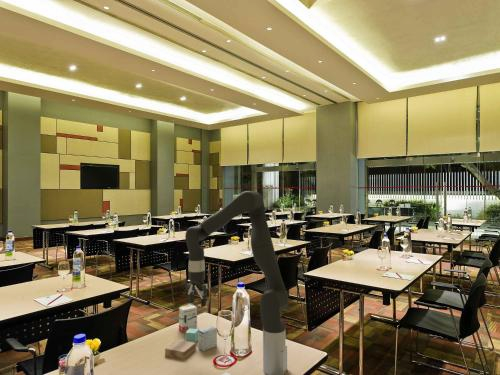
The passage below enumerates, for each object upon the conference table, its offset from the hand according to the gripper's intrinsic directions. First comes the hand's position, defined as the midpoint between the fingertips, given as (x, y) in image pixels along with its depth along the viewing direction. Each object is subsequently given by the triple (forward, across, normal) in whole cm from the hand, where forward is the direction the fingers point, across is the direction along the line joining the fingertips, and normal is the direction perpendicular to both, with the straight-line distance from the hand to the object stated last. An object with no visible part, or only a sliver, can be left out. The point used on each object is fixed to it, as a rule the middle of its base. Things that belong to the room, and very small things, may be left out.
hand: (197, 304), depth 166 cm
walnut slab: (+22, +4, +6) cm, 23 cm away
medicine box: (+22, -1, -5) cm, 22 cm away
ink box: (+21, +23, -12) cm, 34 cm away
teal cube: (+21, +10, -5) cm, 24 cm away
